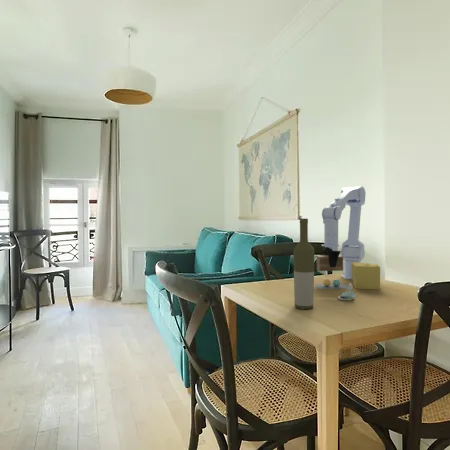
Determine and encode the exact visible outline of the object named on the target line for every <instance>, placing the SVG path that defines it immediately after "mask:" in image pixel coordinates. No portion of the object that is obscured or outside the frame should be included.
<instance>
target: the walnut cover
mask: <svg viewBox="0 0 450 450" xmlns="http://www.w3.org/2000/svg"><path fill="white" fill-rule="evenodd" d="M315 257H316V270H317V271H319V272H332V271H333V272H335V271H336V272H340V271H341V272H342V271H343V263H344V260H343V256H341V254H339V256H338V259H337V264H336V267H330V263H329V257H328V255H325V254H320V255H319V254H316V256H315Z"/></svg>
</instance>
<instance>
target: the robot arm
mask: <svg viewBox="0 0 450 450" xmlns="http://www.w3.org/2000/svg"><path fill="white" fill-rule="evenodd" d="M365 202H366V190H365V187H364V186H363V185H362V186H361V185H360V186H347V187H345V186H344V187H342V188H341V190H340V196H339V197H335V198H334V200H333V201H332V202H331V203H330V204H329V205H328V206H325V207H324V208H323V209H322V212H321V218H322V220H323V221H322V223H323V225H324V228H323V229H324V232H323V233H324V242H323V243H324V244H321V247H324V248H322V251H323V255H328V257H329V263H330V267H336V264H337V259H338V256H339V255H341V256H343V272H342V273H343V274H341V277H342V278H344V279H345V280H352V271H351V269H352V262H359V263H362V262H361V261H362V260H363V259H364V258H365V253H366V252H365V244H364V242H362V241H360V226H361V214H362V206H364V205H365V204H366V203H365ZM346 206H349V218H348V219H349V221H348V232H347V233H348V234H347V239H346V240H345V241H343V242H342V246H341V249H340V250H338V248H339V220H340V219H341V217H342V214H343V213H342V212H343V211H344V209H345V208H346Z"/></svg>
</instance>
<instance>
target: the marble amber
mask: <svg viewBox="0 0 450 450" xmlns="http://www.w3.org/2000/svg"><path fill="white" fill-rule="evenodd" d="M322 284H324V285H325V286H329V285H330V284H332V283H331V281H330V279H327V278H326V279H324V280H323V282H322Z"/></svg>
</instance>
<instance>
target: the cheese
mask: <svg viewBox="0 0 450 450" xmlns="http://www.w3.org/2000/svg"><path fill="white" fill-rule="evenodd" d="M351 271H352V279H351V280H352V286H353V288H354V289H356V290H357V289H358V290H359V289H360V290H364V289H365V290H381V266H380V265H379V264H376V263H375V264H373V263H366V262H361V263H359V262H352V269H351Z"/></svg>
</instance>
